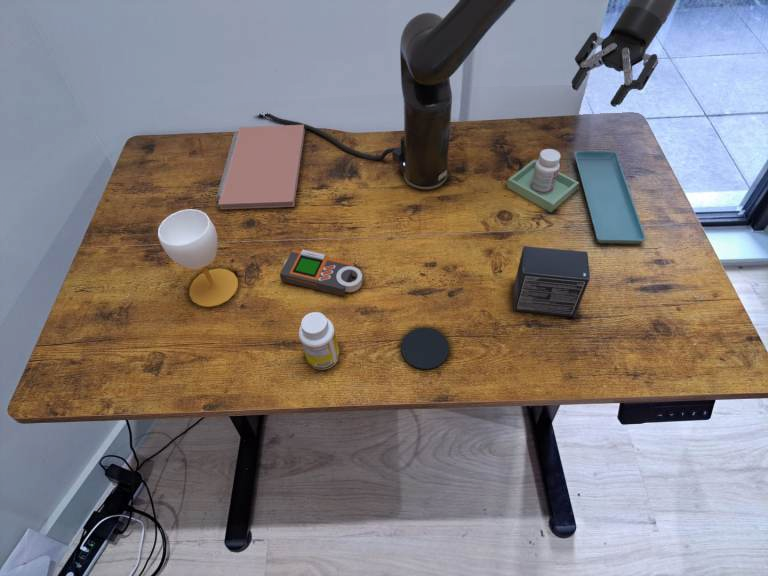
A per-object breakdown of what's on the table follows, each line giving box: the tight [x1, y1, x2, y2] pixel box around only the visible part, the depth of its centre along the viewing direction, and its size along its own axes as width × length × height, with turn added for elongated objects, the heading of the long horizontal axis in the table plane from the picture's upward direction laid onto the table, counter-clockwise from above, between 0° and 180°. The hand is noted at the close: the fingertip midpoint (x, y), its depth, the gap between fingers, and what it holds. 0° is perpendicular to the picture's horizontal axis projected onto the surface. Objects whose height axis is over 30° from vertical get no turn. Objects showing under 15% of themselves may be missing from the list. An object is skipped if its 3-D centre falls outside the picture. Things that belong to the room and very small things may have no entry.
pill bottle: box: [531, 148, 562, 194], centre depth 104 cm, size 5×5×8 cm
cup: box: [157, 208, 239, 308], centre depth 89 cm, size 9×9×16 cm
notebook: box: [215, 124, 306, 210], centre depth 115 cm, size 27×17×2 cm, turn 1°
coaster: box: [400, 326, 450, 371], centre depth 85 cm, size 8×8×1 cm
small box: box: [512, 245, 591, 318], centre depth 86 cm, size 11×6×10 cm, turn 80°
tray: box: [506, 158, 580, 213], centre depth 107 cm, size 11×9×2 cm
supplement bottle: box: [298, 311, 340, 371], centre depth 81 cm, size 6×6×10 cm
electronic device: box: [279, 248, 363, 297], centre depth 94 cm, size 7×3×15 cm
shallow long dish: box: [573, 150, 647, 245], centre depth 104 cm, size 26×9×2 cm, turn 177°
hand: (593, 96), depth 100 cm, fingers open, 8 cm apart
